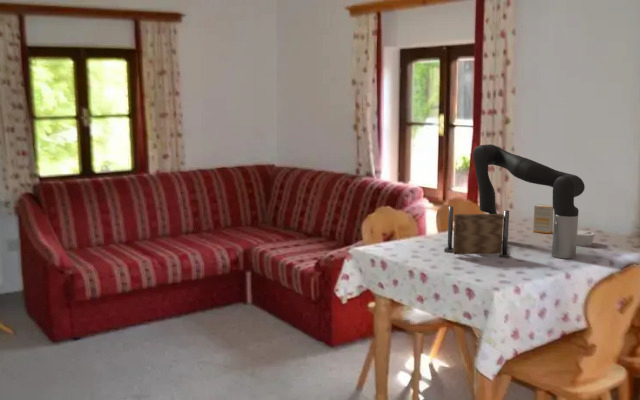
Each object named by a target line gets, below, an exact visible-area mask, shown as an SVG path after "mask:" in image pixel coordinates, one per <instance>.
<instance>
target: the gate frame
mask: <svg viewBox="0 0 640 400" xmlns="http://www.w3.org/2000/svg"><path fill="white" fill-rule="evenodd" d="M503 215H504V218H503V231H502V252H501V254H499V255H498V257H499V258H501V259H502V258H503V259H504V258H505V259H509V258H510V257H511V256H510V252H508V244H509V242H508V241H509V224H510V223H509V222H510V210H507V209H506V210H503ZM447 220H448V222H447V224H448V225H447V246H446V247H445V248H444V251H443V252H444V253H452V254H454V253H453V231H454V206H448V219H447Z"/></svg>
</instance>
